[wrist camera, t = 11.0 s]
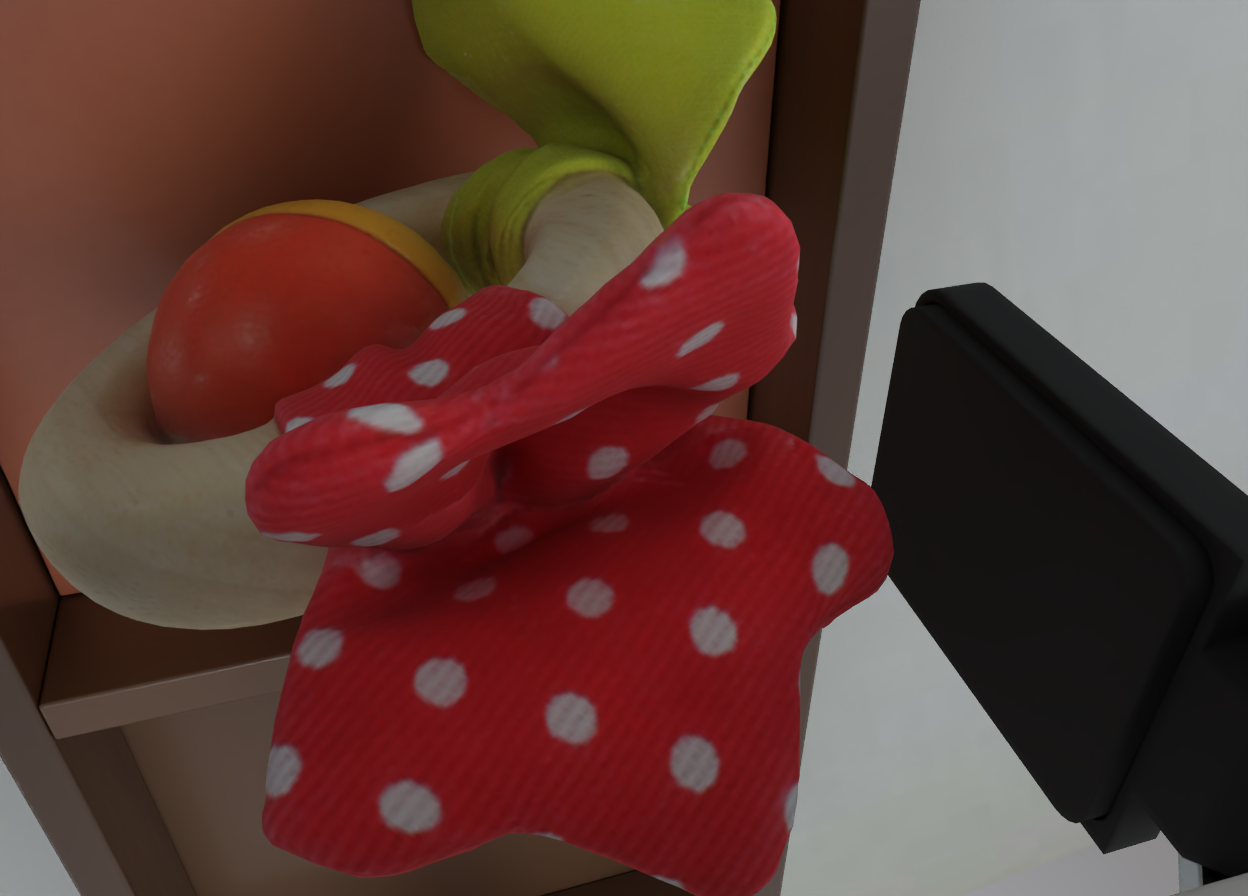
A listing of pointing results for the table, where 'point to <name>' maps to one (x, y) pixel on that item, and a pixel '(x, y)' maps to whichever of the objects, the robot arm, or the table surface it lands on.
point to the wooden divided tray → (351, 172)
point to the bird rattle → (494, 470)
